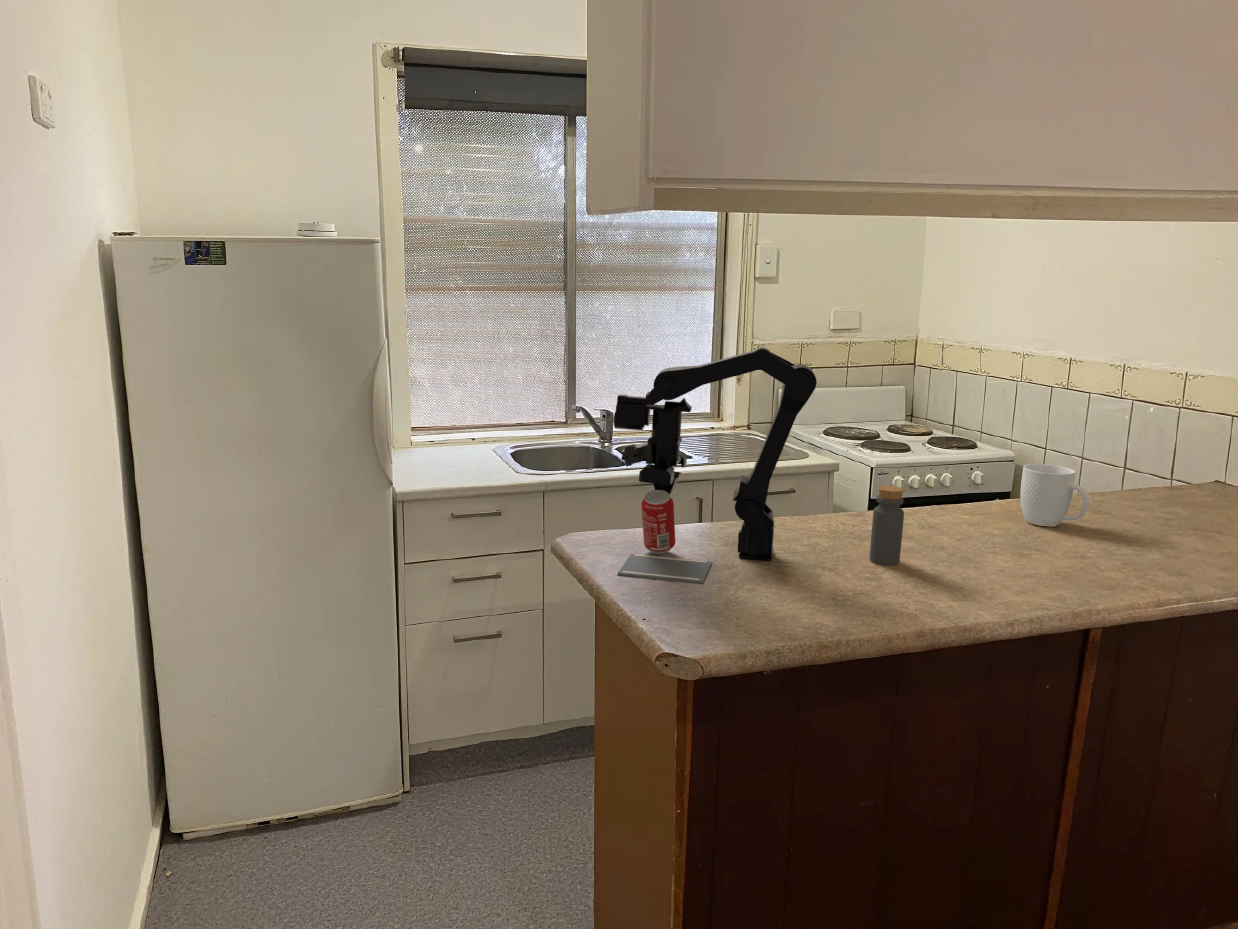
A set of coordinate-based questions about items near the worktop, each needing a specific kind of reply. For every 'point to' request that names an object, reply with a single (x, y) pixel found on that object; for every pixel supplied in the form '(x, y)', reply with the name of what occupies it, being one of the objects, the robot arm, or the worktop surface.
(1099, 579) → the worktop surface
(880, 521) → the bottle
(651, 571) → the mat
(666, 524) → the beverage can
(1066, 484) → the mug
